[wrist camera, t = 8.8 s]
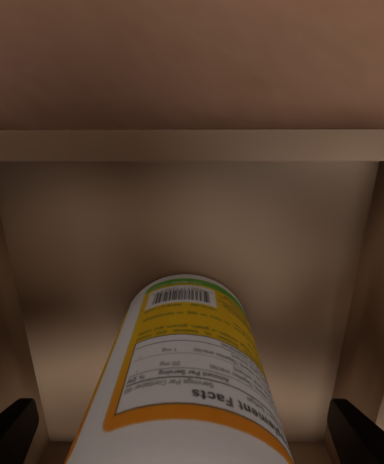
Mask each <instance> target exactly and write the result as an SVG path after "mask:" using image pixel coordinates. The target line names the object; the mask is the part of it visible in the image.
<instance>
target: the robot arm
mask: <svg viewBox="0 0 384 464" xmlns="http://www.w3.org/2000/svg"><path fill="white" fill-rule="evenodd" d="M38 424H39V414H38V409H37V405H36V401H35V399H34V398H20V399H18V400H16V401H15V402H14V403H12V404H11V405H10V406H9V407H7V408H6V409H5V410H4V411H2V412H1V413H0V464H23V463H24V461H25V458H26V456H27V453H28V451H29V448H30V446H31V443H32V440H33V438H34V435H35V433H36V430H37V428H38ZM327 425H328V428H329V431H330V434H331V437H332V440H333V443H334V446H335V449H336V452H337V455H338V458H339V461H340V464H384V431H383V430H382V429H381V428H380V427H379V426H377V425H376V424H375V423H374V422H373V421H372V420H370V419H369V418H368V417H367V416H366V415H365V414H363V413H362V412H361V411H360V410H359V409H358V408H356V407H355V406H354V405H353V404H352V403H351V402H349V401H348V400H347V399H344V398H332V399H331V400H330V404H329V409H328V415H327Z"/></svg>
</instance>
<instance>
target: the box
mask: <svg viewBox="0 0 384 464" xmlns="http://www.w3.org/2000/svg"><path fill="white" fill-rule="evenodd" d="M179 274H192V275H199V276H203V277H206V278H210V279H212V280H215V281H217V282H219V283H220V284H222V285H223V286H225V287H226V288H228V289H229V290H230V291H231V292H232V293H233V294H234V295H235V296H236V298H237V299H238V300H239V302H240V303H241V305H242V307H243V309H244V311H245V314H246V316H247V319H248V322H249V325H250V328H251V331H252V334H253V338H254V341H255V344H256V347H257V350H258V353H259V357H260V360H261V363H262V366H263V369H264V373H265V376H266V379H267V382H268V385H269V388H270V391H271V394H272V397H273V400H274V403H275V406H276V409H277V412H278V416H279V419H280V422H281V425H282V428H283V431H284V434H285V437H286V440H287V443H288V447H289V450H290V453H291V456H292V458H293V461H294V464H340V461H339V458H338V455H337V452H336V449H335V446H334V443H333V440H332V437H331V434H330V431H329V428H328V425H327V415H328V409H329V404H330V400H331V399H332V398H344V399H347V400H348V401H349V402H351V403H352V404H353V405H354V406H355V407H356V408H358V409H359V410H360V411H361V412H362V413H363V414H365V415H366V416H367V417H368V418H369V419H370V420H372V421H373V422H374V423H375V424H376V425H377V426H379V427H380V428H381V429H382V430H383V431H384V129H281V130H0V413H1V412H2V411H4V410H5V409H6V408H7V407H9V406H10V405H11V404H12V403H14V402H15V401H16V400H18V399H20V398H34V399H35V401H36V405H37V409H38V414H39V424H38V428H37V430H36V433H35V435H34V438H33V440H32V443H31V446H30V448H29V451H28V453H27V456H26V458H25V461H24V463H23V464H64V463H65V460H66V458H67V455H68V453H69V450H70V448H71V446H72V443H73V441H74V439H75V436H76V434H77V431H78V429H79V427H80V424H81V422H82V419H83V417H84V414H85V412H86V410H87V407H88V405H89V402H90V400H91V397H92V395H93V393H94V390H95V388H96V385H97V383H98V380H99V378H100V375H101V373H102V371H103V368H104V366H105V363H106V361H107V358H108V356H109V354H110V351H111V349H112V346H113V344H114V341H115V339H116V336H117V334H118V331H119V329H120V326H121V324H122V321H123V319H124V316H125V314H126V312H127V310H128V308H129V306H130V304H131V302H132V301H133V299H134V298H135V297H136V296H137V294H138V293H139V292H140V291H141V290H143V289H144V288H145V287H146V286H148V285H149V284H151V283H152V282H154V281H156V280H159V279H161V278H164V277H167V276H172V275H179Z"/></svg>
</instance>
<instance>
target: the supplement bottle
mask: <svg viewBox="0 0 384 464" xmlns="http://www.w3.org/2000/svg"><path fill="white" fill-rule="evenodd" d="M64 464H294V461H293V458H292V456H291V453H290V450H289V447H288V443H287V440H286V437H285V434H284V431H283V428H282V425H281V422H280V419H279V416H278V412H277V409H276V406H275V403H274V400H273V397H272V394H271V391H270V388H269V385H268V382H267V379H266V376H265V373H264V369H263V366H262V363H261V360H260V357H259V353H258V350H257V347H256V344H255V341H254V338H253V334H252V331H251V328H250V325H249V322H248V319H247V316H246V314H245V311H244V309H243V307H242V305H241V303H240V302H239V300H238V299H237V298H236V296H235V295H234V294H233V293H232V292H231V291H230V290H229V289H228V288H226V287H225V286H223V285H222V284H220V283H219V282H217V281H215V280H212V279H210V278H206V277H203V276H199V275H192V274H179V275H172V276H167V277H164V278H161V279H159V280H156V281H154V282H152V283H151V284H149V285H148V286H146V287H145V288H144V289H143V290H141V291H140V292H139V293H138V294H137V296H136V297H135V298H134V299H133V301H132V302H131V304H130V306H129V308H128V310H127V312H126V314H125V316H124V319H123V321H122V324H121V326H120V329H119V331H118V334H117V336H116V339H115V341H114V344H113V346H112V349H111V351H110V354H109V356H108V358H107V361H106V363H105V366H104V368H103V371H102V373H101V375H100V378H99V380H98V383H97V385H96V388H95V390H94V393H93V395H92V397H91V400H90V402H89V405H88V407H87V410H86V412H85V414H84V417H83V419H82V422H81V424H80V427H79V429H78V431H77V434H76V436H75V439H74V441H73V443H72V446H71V448H70V450H69V453H68V455H67V458H66V460H65V463H64Z"/></svg>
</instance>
